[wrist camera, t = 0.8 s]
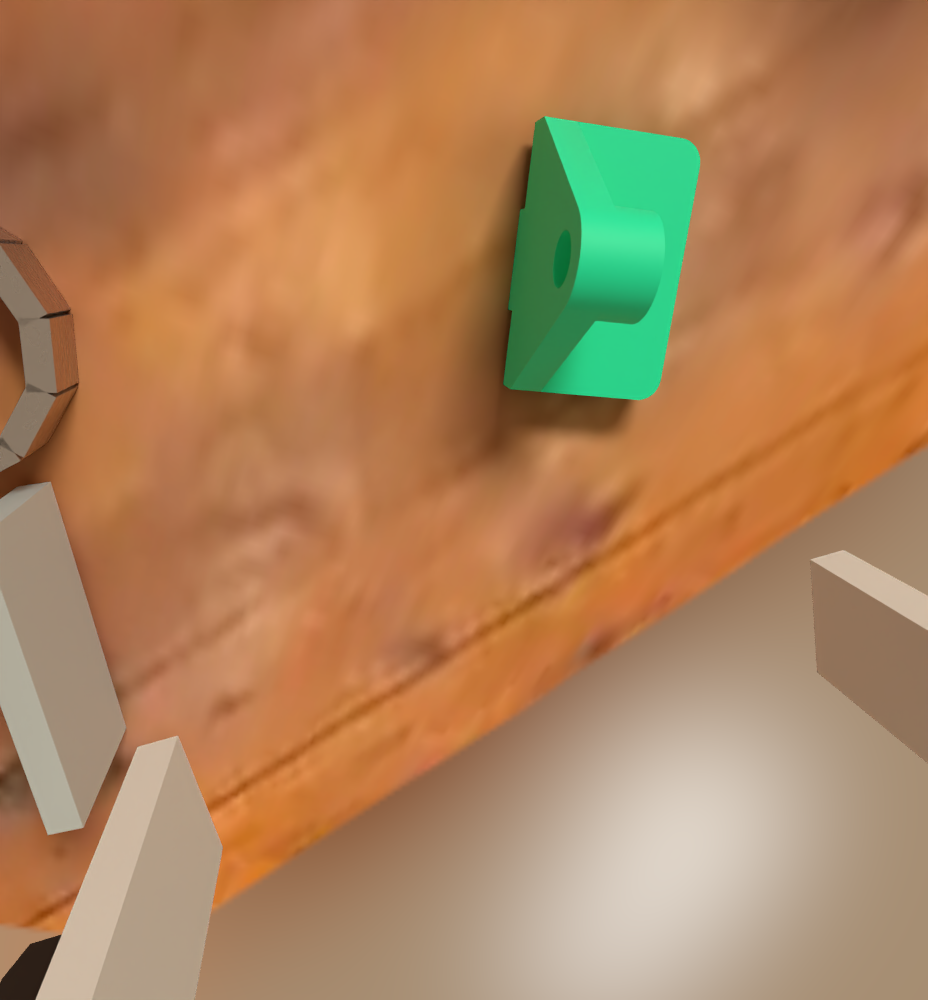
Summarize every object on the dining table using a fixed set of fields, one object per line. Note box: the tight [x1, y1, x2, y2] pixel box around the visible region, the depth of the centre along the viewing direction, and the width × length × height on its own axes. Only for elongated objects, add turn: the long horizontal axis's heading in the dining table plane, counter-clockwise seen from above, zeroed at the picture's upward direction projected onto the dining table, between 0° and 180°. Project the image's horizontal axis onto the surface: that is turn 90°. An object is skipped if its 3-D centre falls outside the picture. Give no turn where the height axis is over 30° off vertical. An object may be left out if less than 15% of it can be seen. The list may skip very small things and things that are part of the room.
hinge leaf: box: [0, 482, 126, 835], centre depth 34 cm, size 2×14×8 cm, turn 6°
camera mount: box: [503, 116, 700, 400], centre depth 33 cm, size 12×8×10 cm, turn 174°
